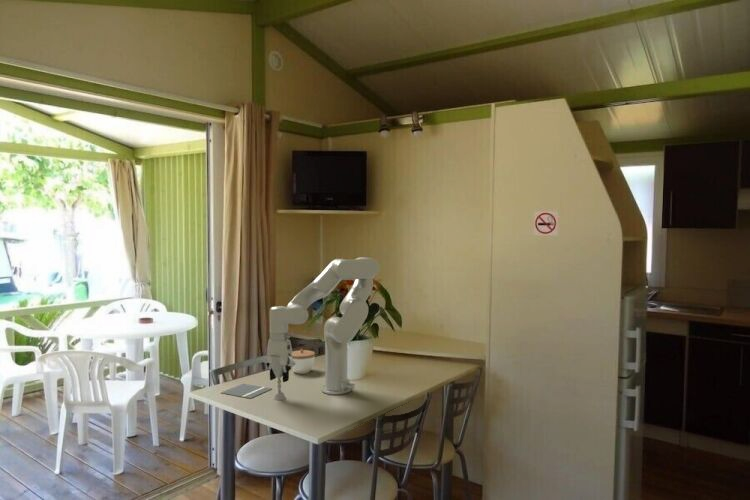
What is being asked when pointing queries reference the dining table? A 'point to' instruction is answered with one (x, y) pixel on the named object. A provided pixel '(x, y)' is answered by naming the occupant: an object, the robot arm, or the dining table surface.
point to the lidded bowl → (303, 361)
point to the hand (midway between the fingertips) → (279, 379)
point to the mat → (246, 391)
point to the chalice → (278, 373)
